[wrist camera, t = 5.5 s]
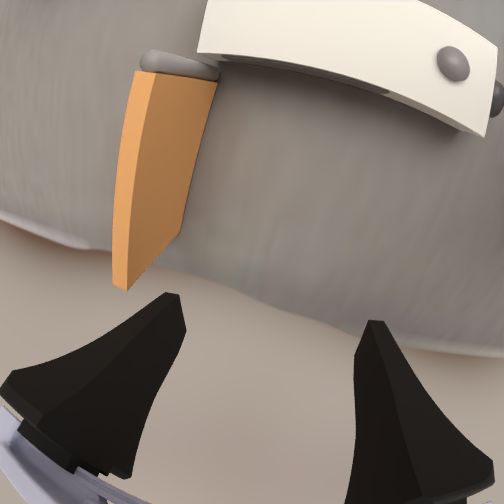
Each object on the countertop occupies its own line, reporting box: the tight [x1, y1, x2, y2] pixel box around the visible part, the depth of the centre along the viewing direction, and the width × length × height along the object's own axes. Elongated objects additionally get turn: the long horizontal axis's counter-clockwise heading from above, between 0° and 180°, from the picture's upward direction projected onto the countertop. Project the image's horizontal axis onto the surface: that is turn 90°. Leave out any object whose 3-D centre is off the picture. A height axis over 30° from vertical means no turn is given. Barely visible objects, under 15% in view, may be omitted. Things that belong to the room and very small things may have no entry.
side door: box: [112, 49, 220, 291], centre depth 11 cm, size 10×1×6 cm, turn 162°
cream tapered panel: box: [197, 0, 504, 137], centre depth 8 cm, size 14×5×3 cm, turn 80°
